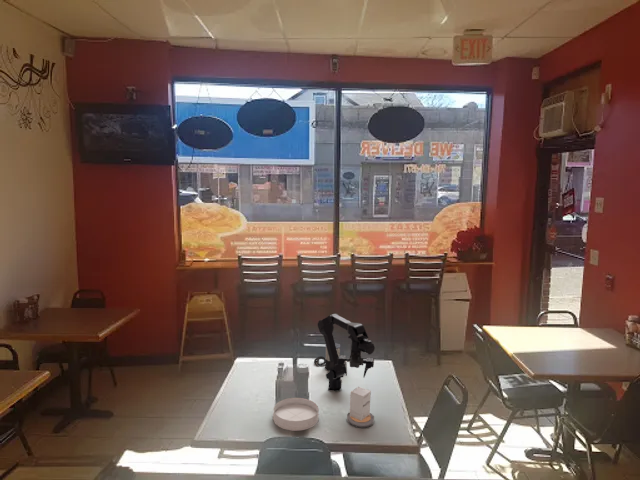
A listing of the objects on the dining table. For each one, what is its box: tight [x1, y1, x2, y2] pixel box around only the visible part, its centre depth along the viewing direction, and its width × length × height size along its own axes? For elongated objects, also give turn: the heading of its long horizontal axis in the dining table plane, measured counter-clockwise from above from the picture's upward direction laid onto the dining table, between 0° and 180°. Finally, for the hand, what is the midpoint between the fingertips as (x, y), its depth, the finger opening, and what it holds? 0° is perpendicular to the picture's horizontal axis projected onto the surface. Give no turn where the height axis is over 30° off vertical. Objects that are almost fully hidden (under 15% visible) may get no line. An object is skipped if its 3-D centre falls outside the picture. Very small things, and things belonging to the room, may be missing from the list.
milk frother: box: [313, 342, 341, 372], centre depth 281 cm, size 14×16×15 cm
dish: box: [272, 397, 320, 432], centre depth 223 cm, size 22×22×5 cm
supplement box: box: [349, 386, 372, 421], centre depth 222 cm, size 7×7×13 cm
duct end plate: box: [346, 411, 375, 429], centre depth 223 cm, size 13×13×2 cm
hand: (355, 376), depth 240 cm, fingers open, 9 cm apart
